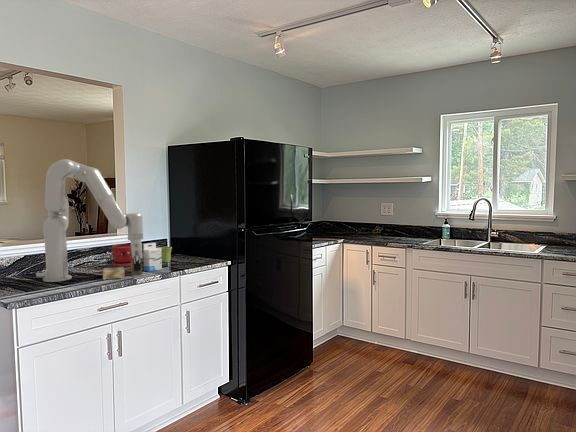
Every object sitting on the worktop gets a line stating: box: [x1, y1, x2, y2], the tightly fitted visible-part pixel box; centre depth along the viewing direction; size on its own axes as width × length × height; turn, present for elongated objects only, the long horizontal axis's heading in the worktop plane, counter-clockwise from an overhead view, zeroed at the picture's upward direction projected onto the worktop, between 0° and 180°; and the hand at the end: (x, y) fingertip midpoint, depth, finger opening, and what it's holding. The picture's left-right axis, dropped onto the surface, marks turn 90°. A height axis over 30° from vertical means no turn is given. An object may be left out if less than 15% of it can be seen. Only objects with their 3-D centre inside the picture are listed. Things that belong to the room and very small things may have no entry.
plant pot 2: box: [157, 246, 173, 263], centre depth 266 cm, size 9×9×9 cm
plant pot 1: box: [111, 244, 133, 268], centre depth 253 cm, size 13×13×12 cm
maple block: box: [102, 266, 126, 281], centre depth 222 cm, size 10×10×4 cm
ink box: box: [142, 242, 163, 272], centre depth 239 cm, size 9×5×15 cm, turn 145°
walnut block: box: [130, 259, 143, 276], centre depth 228 cm, size 5×5×7 cm
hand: (136, 269), depth 229 cm, fingers open, 9 cm apart
